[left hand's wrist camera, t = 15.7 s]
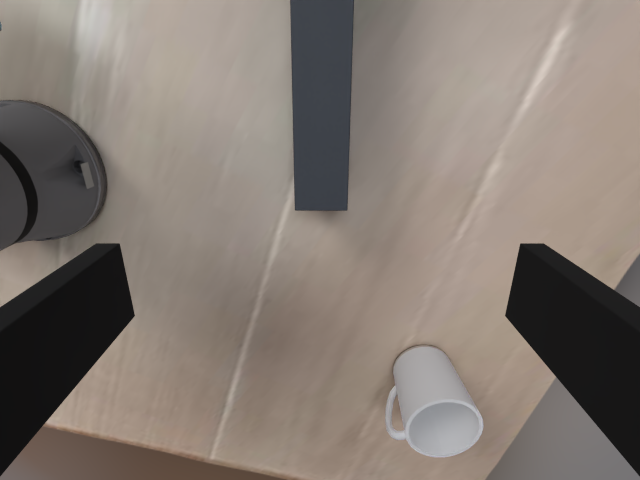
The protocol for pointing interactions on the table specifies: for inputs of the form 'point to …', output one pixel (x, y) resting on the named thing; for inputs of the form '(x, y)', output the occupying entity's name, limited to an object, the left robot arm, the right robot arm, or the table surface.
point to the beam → (321, 101)
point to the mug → (432, 404)
